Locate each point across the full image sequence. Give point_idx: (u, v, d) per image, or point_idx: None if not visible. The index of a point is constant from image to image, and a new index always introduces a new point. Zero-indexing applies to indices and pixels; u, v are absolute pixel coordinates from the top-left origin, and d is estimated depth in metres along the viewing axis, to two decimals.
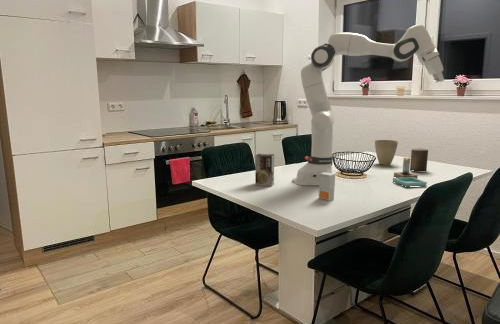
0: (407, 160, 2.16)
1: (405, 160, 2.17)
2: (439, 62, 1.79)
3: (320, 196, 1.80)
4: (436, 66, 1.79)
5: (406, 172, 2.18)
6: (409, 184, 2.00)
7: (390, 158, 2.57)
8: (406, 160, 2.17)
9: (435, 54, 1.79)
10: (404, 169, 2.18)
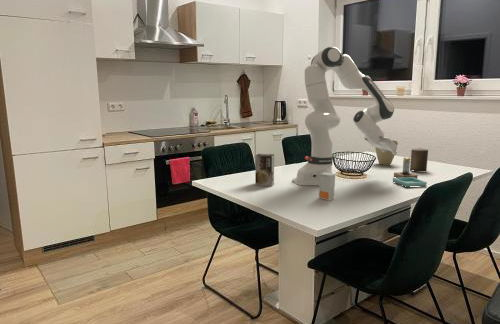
0: (407, 160, 2.16)
1: (405, 160, 2.17)
2: None
3: (320, 196, 1.80)
4: None
5: (406, 172, 2.18)
6: (409, 184, 2.00)
7: (390, 158, 2.57)
8: (406, 160, 2.17)
9: None
10: (404, 169, 2.18)
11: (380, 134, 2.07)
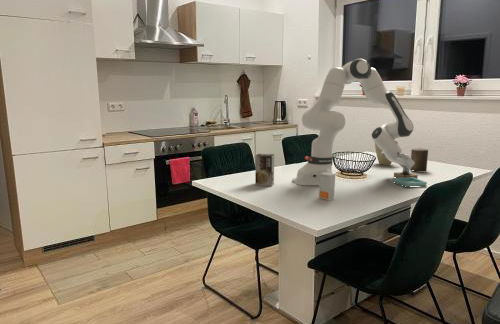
0: None
1: None
2: None
3: (320, 196, 1.80)
4: None
5: (406, 172, 2.18)
6: (409, 184, 2.00)
7: None
8: None
9: None
10: (404, 169, 2.18)
11: (398, 150, 2.11)
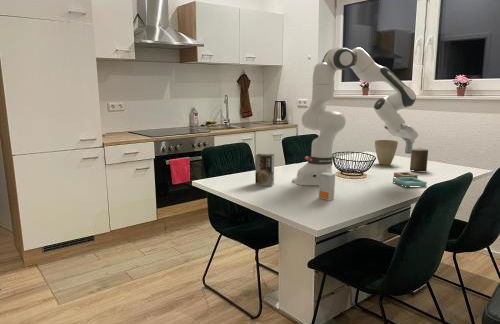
0: None
1: None
2: None
3: (320, 196, 1.80)
4: None
5: (409, 146, 2.11)
6: (409, 184, 2.00)
7: (390, 158, 2.57)
8: None
9: None
10: (407, 142, 2.11)
11: (401, 122, 2.04)
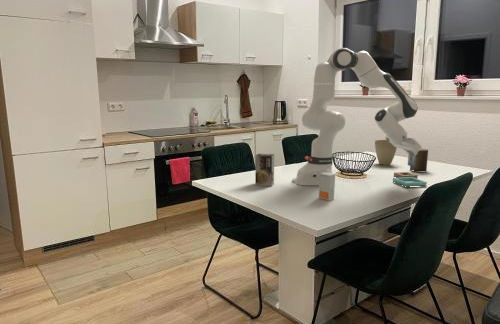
0: None
1: None
2: None
3: (320, 196, 1.80)
4: None
5: (412, 158, 2.03)
6: (409, 184, 2.00)
7: (390, 158, 2.57)
8: None
9: None
10: (410, 154, 2.03)
11: (403, 134, 1.96)
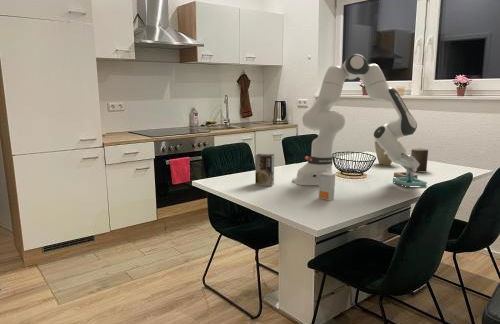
0: None
1: None
2: None
3: (320, 196, 1.80)
4: None
5: (410, 176, 2.05)
6: (409, 184, 2.00)
7: None
8: None
9: None
10: (408, 173, 2.05)
11: (402, 151, 1.98)
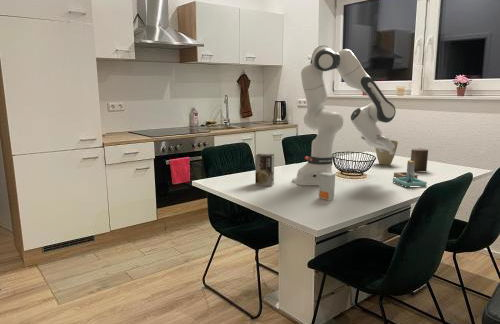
0: (411, 163, 2.03)
1: (409, 163, 2.04)
2: None
3: (320, 196, 1.80)
4: None
5: (410, 176, 2.05)
6: (409, 184, 2.00)
7: (390, 158, 2.57)
8: (410, 163, 2.04)
9: None
10: (408, 173, 2.05)
11: (377, 133, 2.00)
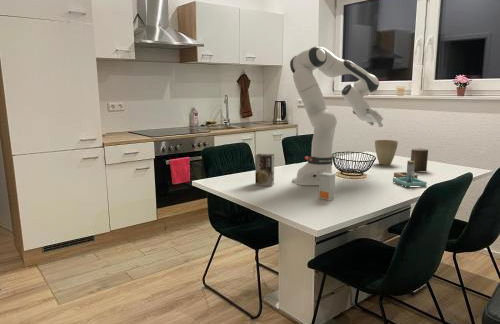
0: (411, 163, 2.03)
1: (409, 163, 2.04)
2: None
3: (320, 196, 1.80)
4: None
5: (410, 176, 2.05)
6: (409, 184, 2.00)
7: (390, 158, 2.57)
8: (410, 163, 2.04)
9: None
10: (408, 173, 2.05)
11: (367, 107, 2.18)
